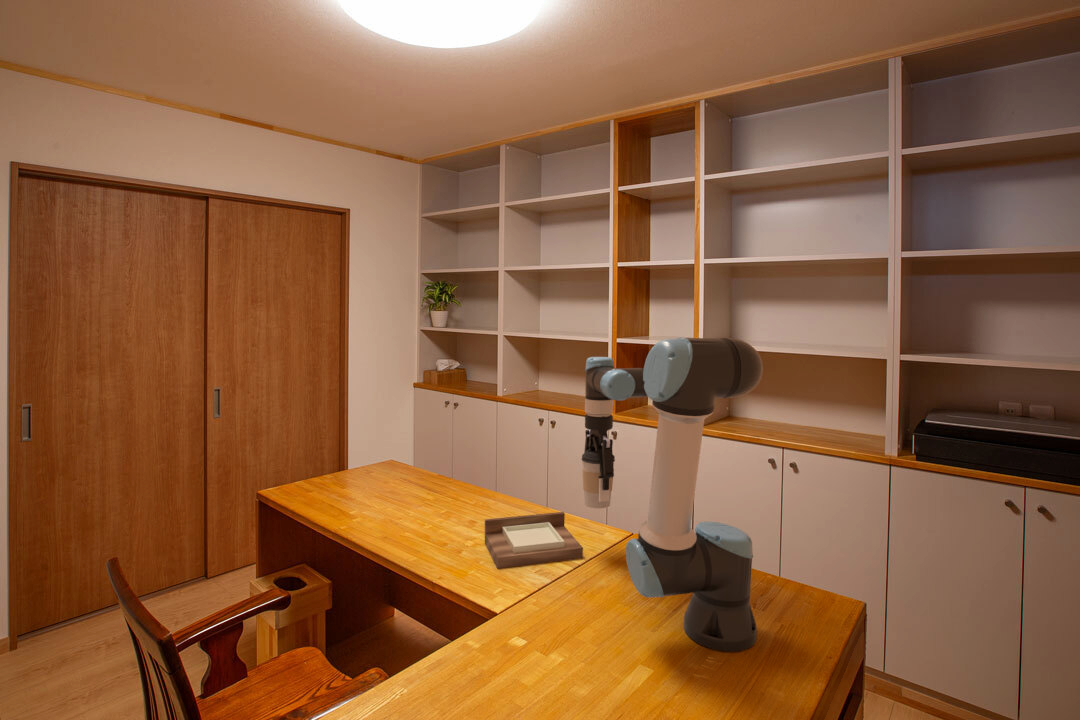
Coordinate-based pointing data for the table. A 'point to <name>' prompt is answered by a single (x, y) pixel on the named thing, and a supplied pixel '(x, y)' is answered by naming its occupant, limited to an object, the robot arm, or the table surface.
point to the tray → (532, 537)
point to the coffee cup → (593, 480)
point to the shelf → (508, 558)
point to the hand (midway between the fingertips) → (597, 495)
